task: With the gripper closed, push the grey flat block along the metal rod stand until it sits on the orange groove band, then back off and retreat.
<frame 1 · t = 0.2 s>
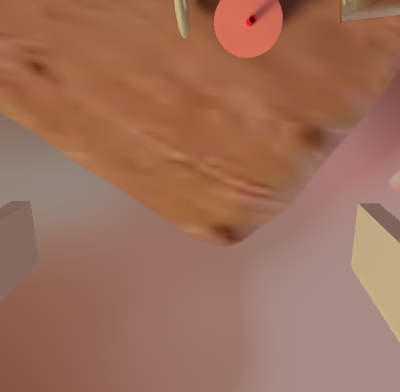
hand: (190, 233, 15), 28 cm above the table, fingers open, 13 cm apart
cup: (243, 33, 39), on the table
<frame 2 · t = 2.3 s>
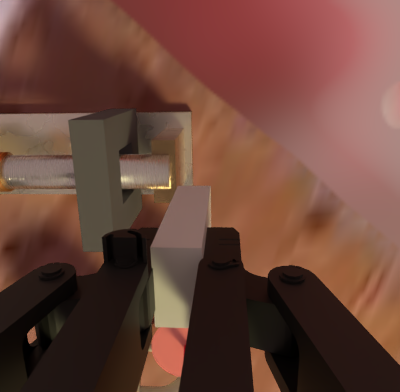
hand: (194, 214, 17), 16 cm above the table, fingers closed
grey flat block: (112, 172, 26), point 7 cm above the table, slide at 0.0 cm
mug: (137, 327, 39), on the table
metal rod stand: (79, 153, 33), on the table
cup: (195, 285, 37), on the table
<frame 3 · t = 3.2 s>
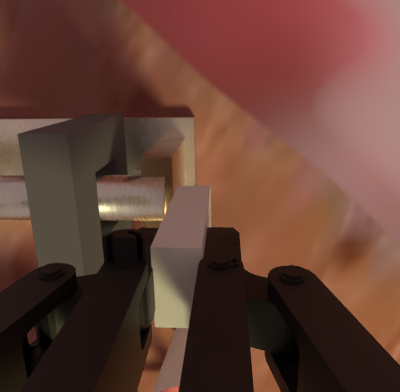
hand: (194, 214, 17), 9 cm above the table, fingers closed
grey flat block: (89, 199, 20), point 7 cm above the table, slide at 0.0 cm
metal rod stand: (56, 167, 27), on the table
cup: (199, 325, 30), on the table
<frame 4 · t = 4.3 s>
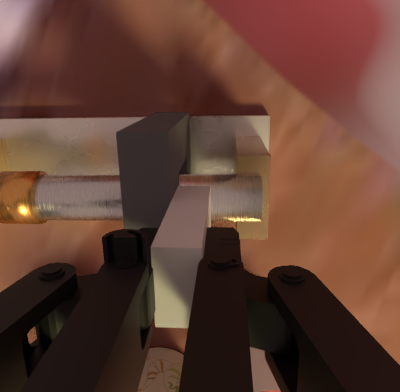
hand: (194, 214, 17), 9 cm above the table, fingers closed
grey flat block: (164, 199, 19), point 7 cm above the table, slide at 0.9 cm, touching gripper
mug: (187, 375, 32), on the table
metal rod stand: (122, 167, 27), on the table
cup: (261, 326, 30), on the table
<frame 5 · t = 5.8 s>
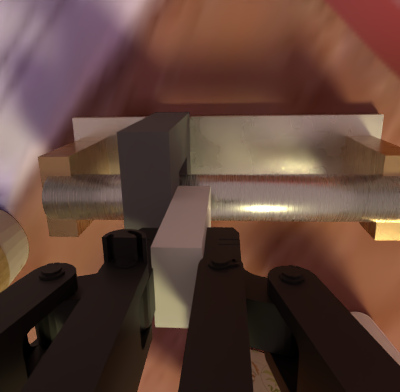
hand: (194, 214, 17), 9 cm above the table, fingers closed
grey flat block: (164, 198, 20), point 7 cm above the table, slide at 8.0 cm, touching gripper
mug: (271, 377, 32), on the table
metal rod stand: (223, 166, 26), on the table
cup: (351, 328, 30), on the table
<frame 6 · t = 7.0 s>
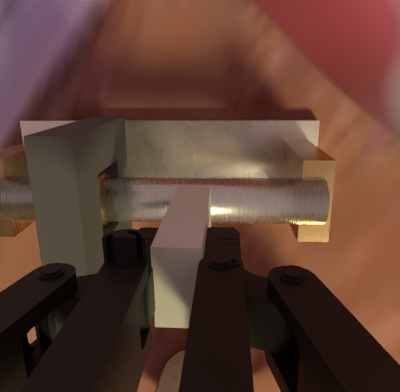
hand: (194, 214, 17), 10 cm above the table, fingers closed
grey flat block: (91, 200, 20), point 7 cm above the table, slide at 8.2 cm
mug: (223, 376, 32), on the table
metal rod stand: (169, 169, 27), on the table
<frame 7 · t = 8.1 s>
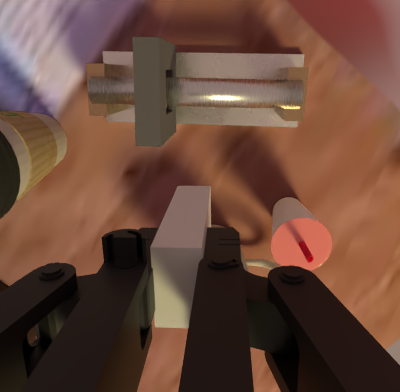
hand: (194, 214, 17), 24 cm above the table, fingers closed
coffee cup: (41, 140, 43), on the table
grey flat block: (157, 91, 33), point 7 cm above the table, slide at 8.2 cm
mug: (232, 248, 45), on the table
metal rod stand: (201, 89, 39), on the table
cup: (287, 210, 43), on the table
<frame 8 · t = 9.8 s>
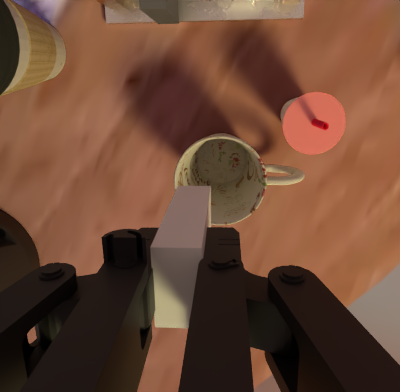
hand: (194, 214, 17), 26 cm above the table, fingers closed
coffee cup: (39, 51, 41), on the table
mug: (240, 159, 44), on the table
cup: (295, 114, 42), on the table
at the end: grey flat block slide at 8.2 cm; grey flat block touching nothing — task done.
